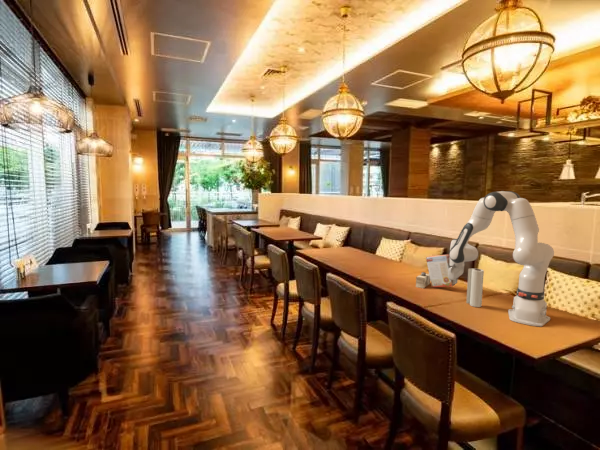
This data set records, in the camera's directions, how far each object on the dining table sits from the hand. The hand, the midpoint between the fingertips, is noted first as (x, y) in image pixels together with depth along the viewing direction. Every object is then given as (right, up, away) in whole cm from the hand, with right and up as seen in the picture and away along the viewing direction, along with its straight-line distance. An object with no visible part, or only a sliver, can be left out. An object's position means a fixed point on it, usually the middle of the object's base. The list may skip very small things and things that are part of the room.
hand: (455, 283), depth 227 cm
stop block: (-17, -3, +12) cm, 21 cm away
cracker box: (-6, -3, +5) cm, 8 cm away
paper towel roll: (-1, -8, -27) cm, 28 cm away
